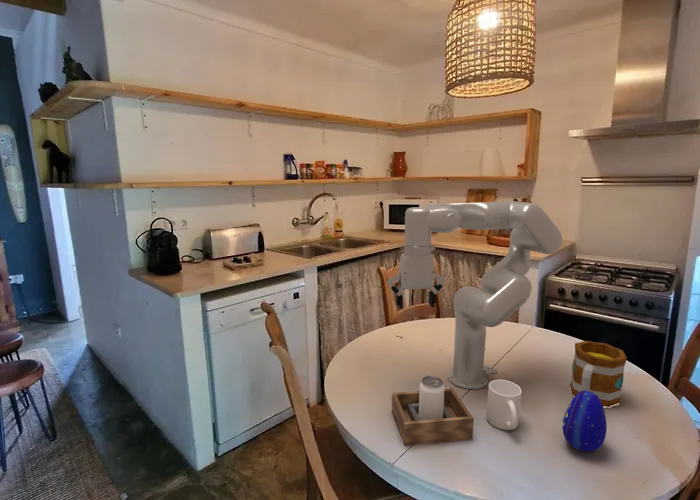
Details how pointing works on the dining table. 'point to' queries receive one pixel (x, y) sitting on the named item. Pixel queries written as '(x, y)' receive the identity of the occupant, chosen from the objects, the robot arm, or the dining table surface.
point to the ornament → (585, 422)
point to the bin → (431, 431)
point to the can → (431, 398)
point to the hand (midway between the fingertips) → (415, 306)
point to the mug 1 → (503, 404)
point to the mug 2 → (598, 371)
